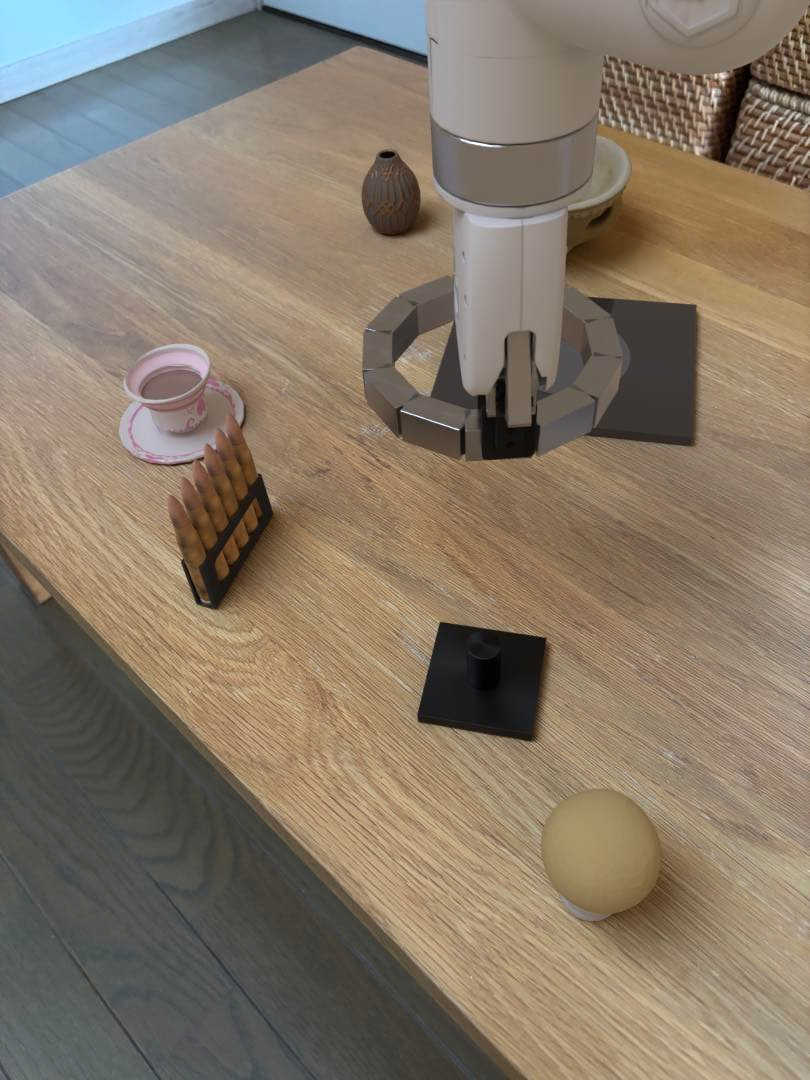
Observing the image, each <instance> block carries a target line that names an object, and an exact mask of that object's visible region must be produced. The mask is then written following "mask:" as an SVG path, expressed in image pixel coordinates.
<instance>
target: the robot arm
mask: <svg viewBox="0 0 810 1080" xmlns="http://www.w3.org/2000/svg"><path fill="white" fill-rule="evenodd" d="M809 7H810V0H424V8H425V9H424V10H425V31H426V32H425V34H426V53H427V75H428V96H429V97H428V99H429V119H430V139H431V140H430V141H431V143H430V144H431V161H432V162H431V163H432V183H433V184H432V185H433V188H434V190H435V192H436V194H437V195H438V196H439V197H440V198H441V199H442V201H444V203H446V204H448V205H449V206H451V207H452V246H453V247H452V248H453V249H452V250H453V274H454V311H455V322H456V332H457V342H458V351H459V360H460V368H461V376H462V383H463V387H464V388H465V390H466V391H467V392H468V393H469V394H470V395H472V396H476V395H477V409H481V452H482V457H483V459H485V460H486V461H496V460H495V459H506V460H511V459H510V458H524V457H531V456H532V455H533V456H534V455H535V454H534V452H535V438H536V421H537V402H536V397H537V379H538V381H539V386H540V387H543V389H544V390H545V391H546V390H547V389H549V388H550V387H551V386H552V385H553V383H554V382H555V380H556V375H557V369H558V361H559V352H560V342H561V329H562V316H563V302H564V284H566V283H565V282H566V264H567V263H566V262H567V254H568V253H567V246H566V244H567V221H568V206H569V205H571V204H573V203H574V202H576V201H577V200H579V199H580V198H581V197H582V196H583V195H584V194H585V193H586V192H587V191H588V190H589V188H590V185H591V183H592V178H593V166H594V156H595V146H596V136H597V135H598V134H597V133H598V124H599V115H600V103H601V94H602V93H601V92H602V83H603V82H602V81H603V73H604V65H605V64H604V62H605V55H606V56H609V57H612V58H616V59H618V60H622V61H625V62H629V63H631V64H635V65H638V66H642V67H645V68H649V69H653V70H657V71H662V72H666V73H670V74H678V75H687V76H704V75H716V74H722V73H725V72H726V73H727V72H729V71H732V70H735V69H738V68H741V67H744V66H746V65H748V64H751V63H754V62H755V61H756V60H758V59H760V58H762V57H763V56H765V55H766V54H767V53H768V52H770V51H771V50H772V49H774V48H775V47H776V46H778V45H779V44H780V43H781V42H782V41H783V40H785V38H787V36H788V35H790V33H791V32H792V31H793V30H794V28H796V26H797V24H798V23H799V22H800V21H801V20H802V18H803V17H804V15H805V13H806V12H807V11H808V8H809Z"/></svg>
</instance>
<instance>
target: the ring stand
mask: <svg viewBox="0 0 810 1080" xmlns="http://www.w3.org/2000/svg"><path fill="white" fill-rule="evenodd" d="M547 641H548V638H547V637H545V636H539V635H531V634H526V633H519V632H511V631H506V630H499V629H492V628H484V627H478V626H471V625H464V624H459V623H451V622H445V621H439V623H438V628H437V631H436V636H435V640H434V644H433V648H432V651H431V656H430V659H429V660H430V661H429V665H428V669H427V673H426V676H425V681H424V685H423V690H422V693H421V697H420V702H419V704H418V705H419V706H418V710H417V714H416V716H417V722H418V723H422V724H427V725H433V726H434V725H435V726H440V727H447V728H452V729H458V730H462V731H463V730H464V731H469V732H476V733H481V734H487V735H492V736H498V737H503V738H510V739H515V740H519V741H520V740H521V741H526V742H533V737H534V730H535V724H536V717H537V709H538V702H539V697H540V690H541V684H542V683H541V682H542V677H543V676H542V675H543V669H544V662H545V655H546V649H547Z"/></svg>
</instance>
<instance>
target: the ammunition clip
mask: <svg viewBox="0 0 810 1080" xmlns="http://www.w3.org/2000/svg"><path fill="white" fill-rule="evenodd" d="M226 431H227V436H228V438H227V436H226V435H225V433H224V432H223V431H222V430H221V429H220V428H217V429H216V433H215V444H216V451H215V450H214V449H213V448H212V447H211V446H210V445H209V444H205V447H204V457H203V458H204V459H203V461H204V465H205V467H204V465H203V464H202V463H201V462H200V461H199V460H198V459H196V460H193V461H192V478H193V482H194V485H193V484H192V482H191V481H190V480H189V479H188V478H187V477H185V476H182V477H181V478H180V484H179V489H180V495H181V499H182V502H183V505H182V503H181V502H180V500H179V499H178V498H177V497H176V496H174V494H168V496H167V511H168V514H169V518H170V522H171V524H172V528H173V531H174V536H175V541H176V544H177V546H178V549H179V552H180V553H181V556H182V559H181V561H180V565H181V567H182V569H183V572H184V575H185V577H186V580H187V583H188V585H189V589H190V592H191V593H192V596H193V599H194V602H195V604H196V605H197V606H201V607H204V608H209V609H213V610H218V608H219V607H220V605H221V603H222V602H223V600H224V598H225V597H226V595H227V593H228V592H229V590H230V588H231V586H232V585H233V583H234V582H235V580H236V578H237V576H238V575H239V573H240V572H241V570H242V568H243V567H244V565H245V564H246V562H247V560H248V559H249V556H250V555H251V553H252V552H253V549H255V546H256V545H257V543H258V542H259V540H260V539H261V537H262V535H263V534H264V532H265V530H266V528H267V527H268V525H269V523H270V522H271V520H272V518H273V517H274V509H273V506H272V504H271V501H270V497H269V495H268V491H267V488H266V485H265V481H264V477H263V475H262V474H261V473H258V472H257V469H256V468H257V467H256V465H255V461H254V458H253V454H252V452H251V450H250V448H249V446H248V444H247V441H246V439H245V436H244V434H243V430H242V428H241V426H239V424H238V422H237V420H236V419H235V417H234V416H233V415H232V414H231V413H228V414H227V416H226Z"/></svg>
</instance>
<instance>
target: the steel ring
mask: <svg viewBox="0 0 810 1080" xmlns="http://www.w3.org/2000/svg"><path fill="white" fill-rule="evenodd" d="M588 297H589V296H586V294H584V293H583V292H581V291H580V290H579V289H577V288H576V287H574V286H570V287H569V284H567V283H565V284H564V302H563V316H562V329H561V337H562V338H563V339H564V340H566V341H567V342H568V343H569V344H570V345H572V346H573V347H574V348H575V349H577V350H578V351H579V352H580V353H581V356H582V361H583V365H584V367H583V369H582V370H581V372H580V373H579V375H578V376H577V378H576V379H575V381H574V382H573V384H572V385H571V386H570V387H567V388H565V389H563V390H561V391H559V392H556V393H554V394H552V395H550V396H548V397H546V398H543V399H541V400H539V401H537V421H536V438H535V452H534V455H535V456H536V457H539V458H540V457H541V456H543V455H545V454H547V453H550V452H551V451H553V450H555V449H558V448H560V447H562V446H564V445H566V444H568V443H570V442H572V441H574V440H577V439H579V438H580V437H583V436H586V435H585V434H587V433H589V432H591V428H595V427H596V425H597V424H598V422H599V420H600V419H601V417H602V416H603V414H604V412H605V411H606V409H607V407H608V406H609V404H610V402H611V401H612V399H613V397H614V396H615V394H616V393H617V391H618V387H619V380H620V374H621V368H622V362H623V353H622V349H621V345H620V342H619V338H618V335H617V331H616V327H615V324H614V320H613V318H610V314H609V313H608V312H606V311H605V310H604V309H602V308H601V307H600V306H598V305H597V304H596V303H594V302H593V301H592V300H590V299H589V298H588ZM454 321H455V311H454V273H452V277H451V276H450V275H449V274H447V275H444V276H442V277H439V278H437V279H433V280H432V281H428V282H426V283H423V284H421V285H418V286H416V287H414V288H410V289H407V290H406V291H403V292H401V293H399V294H398V296H394V297H393V298H392V299H391V300H390V301H389V302H388V303H387V304H386V306H385V307H384V308H383V309H382V310H381V311H380V312H379V313H378V314H377V315H376V316H375V317H374V318H373V319H372V320H371V321H370V322H369V324H367V325H366V326H365V328H364V331H363V333H362V357H361V358H362V360H361V361H362V362H361V373H362V382H363V390H364V397H365V401H366V404H367V405H368V406H369V407H370V409H372V411H373V412H374V413H375V415H377V416H378V418H380V420H381V422H383V423H384V424H385V426H387V428H388V429H389V430H390V431H391V432H392V433H393V434H394V436H395V437H396V438H397V439H400V438H401V440H402V442H404V443H407V444H411V445H413V446H416V447H419V448H422V449H425V450H428V451H430V452H433V453H436V454H439V455H442V456H445V457H447V458H451V459H453V460H456V461H461V460H462V459H463V457H464V460H465V462H483V461H486V462H487V460H485V459H483V457H482V452H481V409H470V410H469V409H466V408H463V407H460V406H456V405H453V404H450V403H447V402H444V401H441V400H438V399H435V398H431V397H430V396H429V395H425V394H421V393H420V392H419V391H418V390H417V389H416V388H415V387H414V386H413V385H412V384H411V383H410V382H409V381H408V380H407V378H405V376H404V375H402V374H401V372H399V371H398V369H397V368H396V362H397V361H398V360H399V359H400V358H401V357H402V356H403V354H404V353H406V351H408V349H409V348H410V347H411V345H412V344H413V343H414V342H415V341H416V340H417V339H418V337H419V336H421V335H423V334H426V333H429V332H431V331H434V330H436V329H438V328H440V327H443V326H447V325H448V324H451V323H453V322H454ZM534 455H532V456H531V457H524V458H510V459H509V460H523V459H524V460H525V459H533V457H534ZM505 460H507V459H495V460H494V461H505Z"/></svg>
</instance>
